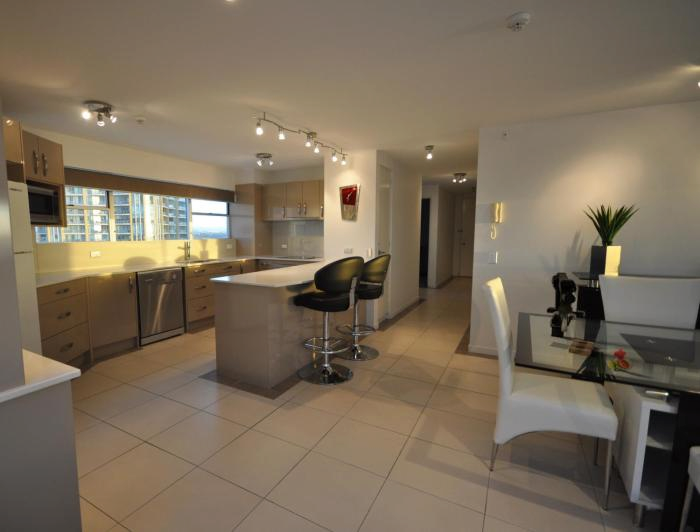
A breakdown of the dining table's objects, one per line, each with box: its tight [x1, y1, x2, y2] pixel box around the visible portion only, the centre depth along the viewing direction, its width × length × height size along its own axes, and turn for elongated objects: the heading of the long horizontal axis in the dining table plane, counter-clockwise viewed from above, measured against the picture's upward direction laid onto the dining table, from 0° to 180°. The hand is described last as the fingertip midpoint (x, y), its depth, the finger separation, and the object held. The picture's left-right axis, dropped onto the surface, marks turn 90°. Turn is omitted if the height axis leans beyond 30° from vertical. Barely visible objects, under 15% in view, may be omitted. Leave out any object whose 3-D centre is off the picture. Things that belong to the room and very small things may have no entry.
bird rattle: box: [608, 348, 634, 372], centre depth 168 cm, size 6×11×9 cm
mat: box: [549, 341, 571, 350], centre depth 205 cm, size 9×10×1 cm
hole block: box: [568, 338, 595, 357], centre depth 198 cm, size 10×20×3 cm, turn 138°
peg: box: [562, 314, 569, 333], centre depth 201 cm, size 3×3×10 cm
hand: (564, 325), depth 202 cm, fingers closed on peg, 3 cm apart
